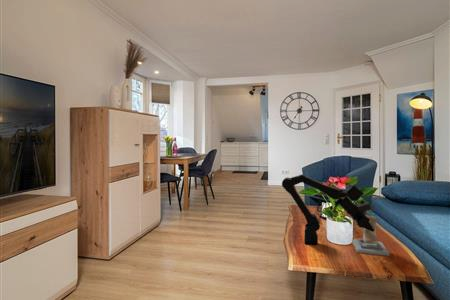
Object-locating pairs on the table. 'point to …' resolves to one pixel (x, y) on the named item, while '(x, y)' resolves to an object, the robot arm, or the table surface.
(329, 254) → the table surface
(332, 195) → the robot arm
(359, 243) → the baseplate
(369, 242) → the birch block
